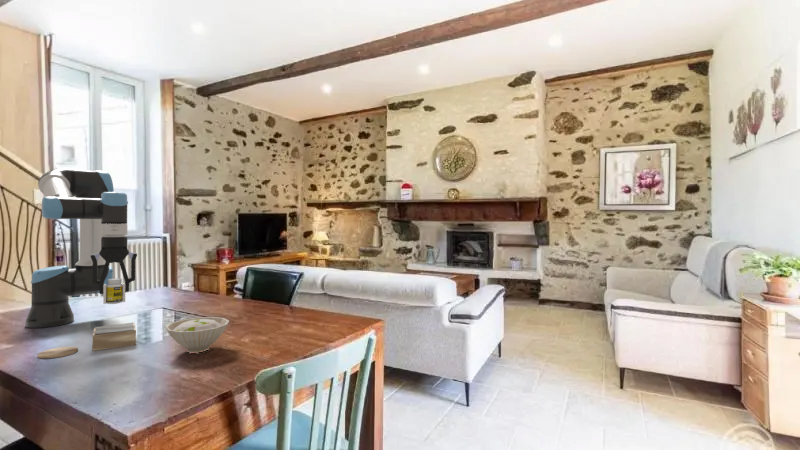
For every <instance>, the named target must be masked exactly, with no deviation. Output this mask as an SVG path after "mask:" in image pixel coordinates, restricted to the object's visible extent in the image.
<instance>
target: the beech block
mask: <svg viewBox="0 0 800 450" xmlns="http://www.w3.org/2000/svg"><path fill="white" fill-rule="evenodd" d="M136 345H137V329H136V323H135V322H126V323H119V324H110V325H109V324H108V325H101V326H95V327H94V328H93V333H92V352H94V351H102V350H107V349H115V348H123V347H129V346H130V347H131V346H136Z"/></svg>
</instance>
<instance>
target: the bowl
mask: <svg viewBox="0 0 800 450" xmlns="http://www.w3.org/2000/svg"><path fill="white" fill-rule="evenodd" d="M229 322H230V320H229V319H227V318H224V317H217V316H204V317H203V316H202V317H192V318H186V319H180V320H177V321H174V322H170V323H169V324H168V325H166V326H165V329H166V331H167V333H168V334H169V336H170V338H172V340H174V341H175V342H176V343H177V344H178V345H179V346H181V348H184V349H187V350H186V351H188V352H200V351H204V350H206V349H208V348H210V346H211V345H213V344H214V343H216V342H217V340H218V339H219V338H220V337H221V335H222V334H223V333H224V332H225V331H226V328H227V327H228V325H229Z"/></svg>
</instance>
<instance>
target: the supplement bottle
mask: <svg viewBox="0 0 800 450" xmlns="http://www.w3.org/2000/svg"><path fill="white" fill-rule="evenodd" d="M120 303H121V304H122V303H124V302H123V281H122V278H117V277H116V278H112V279H108V285H107V286H106V305H118V304H120Z"/></svg>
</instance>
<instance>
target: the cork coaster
mask: <svg viewBox="0 0 800 450" xmlns="http://www.w3.org/2000/svg"><path fill="white" fill-rule="evenodd" d="M78 351H79V347H78V346H77V347H76V346H59V347H55V348H54V347H53V348H50V349H45V350H43V351H41V352H38V353H37V358H38V359H42V360H47V359H48V360H49V359H57V358H63V357H67V356H71V355H73V354H76V353H77V352H78Z"/></svg>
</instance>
